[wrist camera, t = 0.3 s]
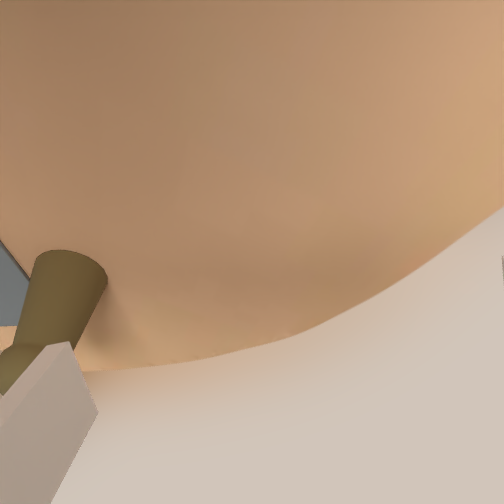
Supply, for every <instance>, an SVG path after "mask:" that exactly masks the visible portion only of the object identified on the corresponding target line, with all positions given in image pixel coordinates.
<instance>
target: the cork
mask: <svg viewBox="0 0 504 504" xmlns="http://www.w3.org/2000/svg"><path fill="white" fill-rule="evenodd" d="M106 285H107V275H106V273H105V271H104V269H103V268H102V267H101V266H100V265H99V264H98V263H97V262H95V261H93V260H92V259H90V258H89V257H87V256H84V255H82V254H79V253H76V252H71V251H66V250H51V251H48V252H44V253H42V254H41V255H40V256H38V257H37V258H36V261H35V263H34V267H33V271H32V274H31V278H30V282H29V285H28V289H27V293H26V296H25V300H24V304H23V308H22V311H21V315H20V319H19V322H18V326H17V330H16V333H15V337H14V341H13V345H12V346H10V347H8V348H7V349H5V350H4V351H3V352H2V353H1V355H0V393H1V394H2V395H3V396H4V394H5V393H6V392H7V391H8V390H9V389H10V387H11V386H12V385H13V384H14V383H15V382H16V380H17V379H18V378H19V377H20V376H21V375H22V373H23V372H24V371H25V370H26V369H27V368H28V366H29V365H30V364H31V363H32V362H33V361H34V360H35V358H36V357H37V356H38V355H39V354H40V353H41V351H42V350H43V349H44V348H45V347H46V346H47V345H52V344H57V343H62V342H67V341H69V342H70V345H71V347H72V349H73V351H74V349H75V347H76V345H77V343H78V341H79V339H80V337H81V335H82V333H83V331H84V329H85V327H86V325H87V323H88V321H89V319H90V317H91V315H92V313H93V311H94V309H95V307H96V305H97V303H98V301H99V299H100V297H101V295H102V293H103V291H104V289H105V287H106Z"/></svg>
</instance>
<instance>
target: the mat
mask: <svg viewBox="0 0 504 504" xmlns="http://www.w3.org/2000/svg"><path fill="white" fill-rule="evenodd" d="M29 282H30V279H29V277H28V276H27V275H26V273H25V272H24V271H23V270H22V268H21V267H20V266H19V264H18V263H17V262H16V261H15V259H14V258H13V257H12V255H11V254H10V253H9V252H8V250H7V249H6V248H5V246H4V245H3V244H2V243H1V241H0V326H18V322H19V319H20V315H21V311H22V308H23V304H24V300H25V296H26V293H27V289H28V285H29Z"/></svg>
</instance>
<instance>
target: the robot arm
mask: <svg viewBox="0 0 504 504" xmlns="http://www.w3.org/2000/svg"><path fill="white" fill-rule="evenodd" d="M502 264H503V279H504V256H502ZM97 414H98V411H97V408H96V406H95V404H94V401H93V399H92V396H91V394H90V391H89V389H88V386H87V384H86V381H85V379H84V376H83V374H82V372H81V369H80V367H79V364H78V362H77V359H76V357H75V354H74V352H73V349H72V347H71V345H70V342H69V341H67V342H62V343H57V344H52V345H47V346H46V347H45V348H44V349H43V350H42V351H41V353H40V354H39V355H38V356H37V357H36V358H35V360H34V361H33V362H32V363H31V364H30V365H29V366H28V368H27V369H26V370H25V371H24V372H23V373H22V375H21V376H20V377H19V378H18V379H17V380H16V382H15V383H14V384H13V385H12V386H11V387H10V389H9V390H8V391H7V392H6V393H5V394H4V396H3V397H2V398H1V399H0V504H50V503H51V501H52V499H53V498H54V496H55V494H56V492H57V490H58V488H59V486H60V484H61V482H62V481H63V479H64V477H65V475H66V473H67V471H68V469H69V467H70V465H71V464H72V461H73V460H74V458H75V456H76V454H77V452H78V450H79V448H80V447H81V445H82V443H83V441H84V439H85V437H86V435H87V433H88V431H89V429H90V427H91V426H92V424H93V422H94V420H95V418H96V416H97Z"/></svg>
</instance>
